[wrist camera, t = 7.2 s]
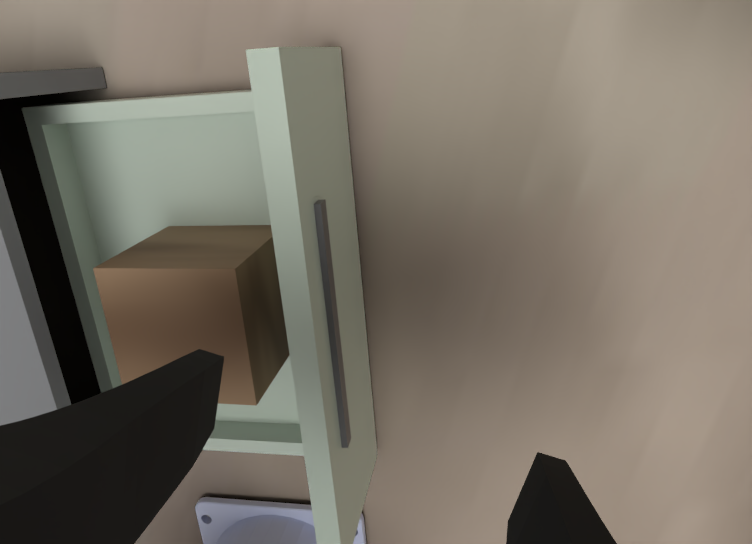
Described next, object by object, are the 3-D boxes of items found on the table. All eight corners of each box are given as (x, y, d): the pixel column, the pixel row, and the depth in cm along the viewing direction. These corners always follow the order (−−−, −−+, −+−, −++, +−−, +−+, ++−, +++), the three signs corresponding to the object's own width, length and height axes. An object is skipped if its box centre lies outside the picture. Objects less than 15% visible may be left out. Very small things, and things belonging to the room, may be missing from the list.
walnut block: (299, 339, 22) (256, 405, 18) (190, 336, 23) (125, 398, 19) (285, 224, 21) (235, 268, 17) (168, 226, 22) (93, 268, 18)
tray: (382, 455, 24) (350, 574, 19) (143, 441, 26) (52, 545, 21) (346, 46, 19) (286, 46, 13) (47, 71, 21) (-111, 80, 15)
